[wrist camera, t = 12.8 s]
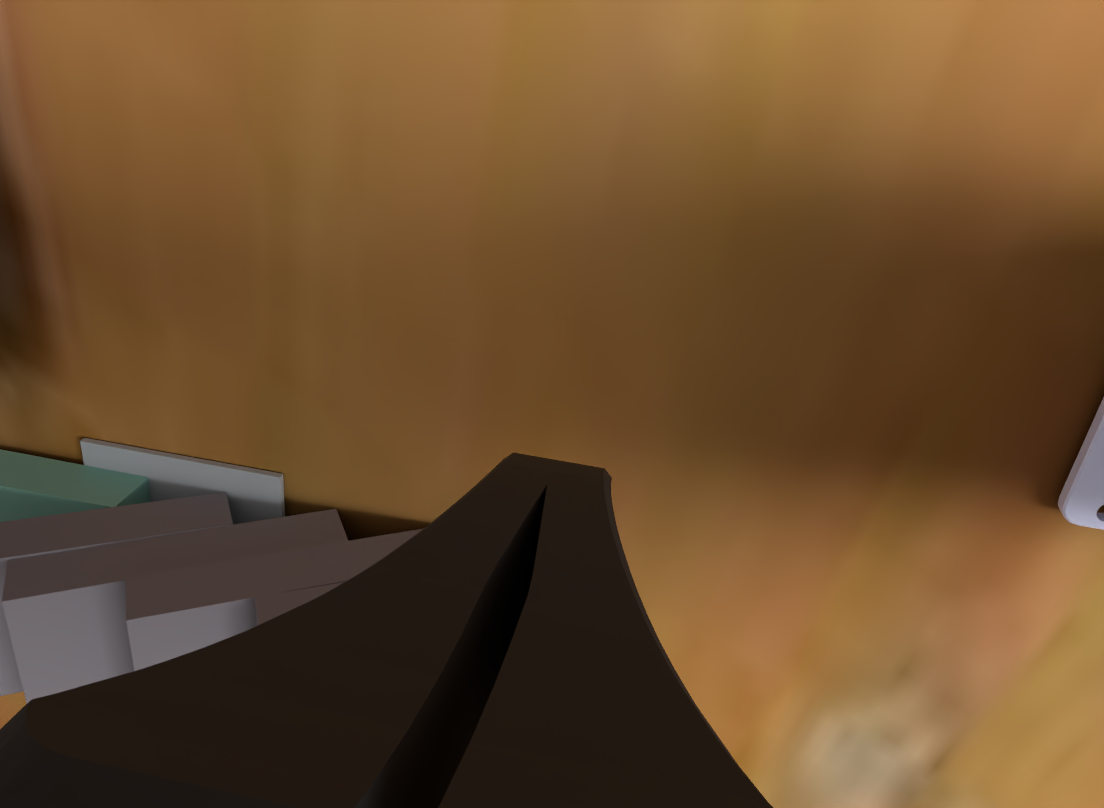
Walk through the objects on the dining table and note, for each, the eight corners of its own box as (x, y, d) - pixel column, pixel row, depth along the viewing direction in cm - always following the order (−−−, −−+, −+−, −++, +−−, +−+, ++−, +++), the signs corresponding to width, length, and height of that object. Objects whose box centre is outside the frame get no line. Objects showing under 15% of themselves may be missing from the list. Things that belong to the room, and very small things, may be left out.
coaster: (283, 473, 24) (279, 477, 24) (291, 635, 27) (288, 640, 27) (84, 437, 25) (79, 441, 25) (112, 600, 28) (108, 603, 28)
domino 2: (233, 523, 23) (-133, 578, 20) (241, 646, 25) (-90, 714, 22) (226, 491, 25) (-118, 537, 21) (234, 611, 27) (-79, 670, 23)
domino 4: (460, 560, 23) (125, 620, 20) (452, 681, 25) (148, 754, 22) (442, 525, 24) (125, 577, 21) (436, 644, 26) (146, 707, 23)
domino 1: (113, 507, 24) (-152, 456, 24) (133, 630, 26) (-113, 580, 26) (148, 477, 25) (-105, 429, 26) (164, 596, 27) (-71, 548, 28)
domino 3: (348, 541, 23) (1, 601, 20) (349, 663, 25) (34, 735, 22) (336, 508, 25) (7, 559, 21) (337, 626, 27) (38, 690, 23)
